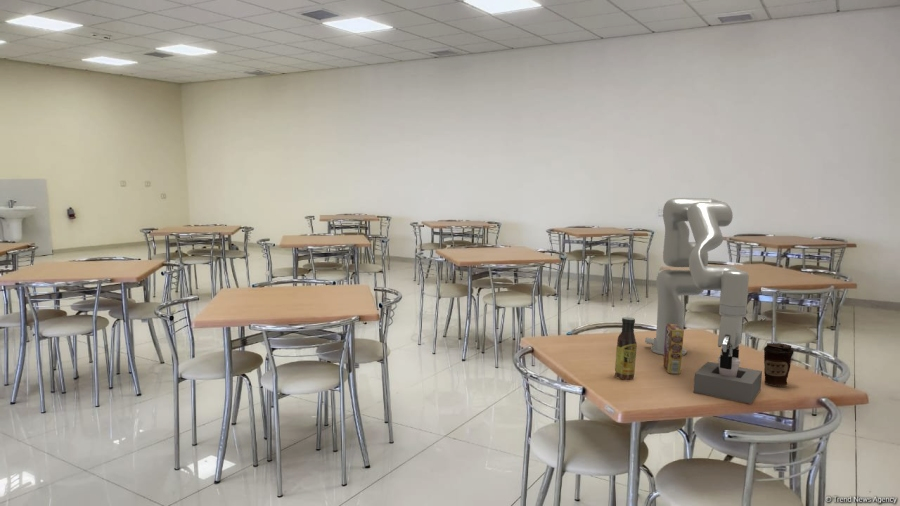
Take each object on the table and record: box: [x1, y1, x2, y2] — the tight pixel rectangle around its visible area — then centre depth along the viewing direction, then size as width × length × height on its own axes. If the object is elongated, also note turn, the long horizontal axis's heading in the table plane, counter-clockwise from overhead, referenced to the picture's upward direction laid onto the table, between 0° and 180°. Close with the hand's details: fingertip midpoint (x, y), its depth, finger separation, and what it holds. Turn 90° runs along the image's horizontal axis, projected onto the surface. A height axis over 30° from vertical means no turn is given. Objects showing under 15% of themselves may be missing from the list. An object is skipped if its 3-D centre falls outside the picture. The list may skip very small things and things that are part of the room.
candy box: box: [662, 324, 685, 375], centre depth 205 cm, size 9×4×15 cm, turn 172°
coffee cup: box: [763, 342, 794, 388], centre depth 191 cm, size 9×8×13 cm
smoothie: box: [717, 354, 741, 377], centre depth 184 cm, size 6×6×14 cm
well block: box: [693, 361, 763, 405], centre depth 185 cm, size 16×16×6 cm
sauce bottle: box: [614, 316, 638, 380], centre depth 196 cm, size 6×6×20 cm
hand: (729, 364), depth 184 cm, fingers open, 9 cm apart
